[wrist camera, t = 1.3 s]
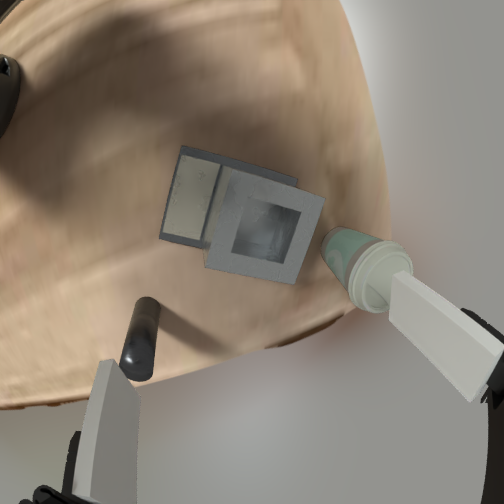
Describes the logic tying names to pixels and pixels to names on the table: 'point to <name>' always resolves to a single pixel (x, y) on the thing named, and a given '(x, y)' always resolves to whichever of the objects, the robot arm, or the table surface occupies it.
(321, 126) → the table surface
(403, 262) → the coffee cup
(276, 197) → the square frame housing
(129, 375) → the black tapered cylinder
